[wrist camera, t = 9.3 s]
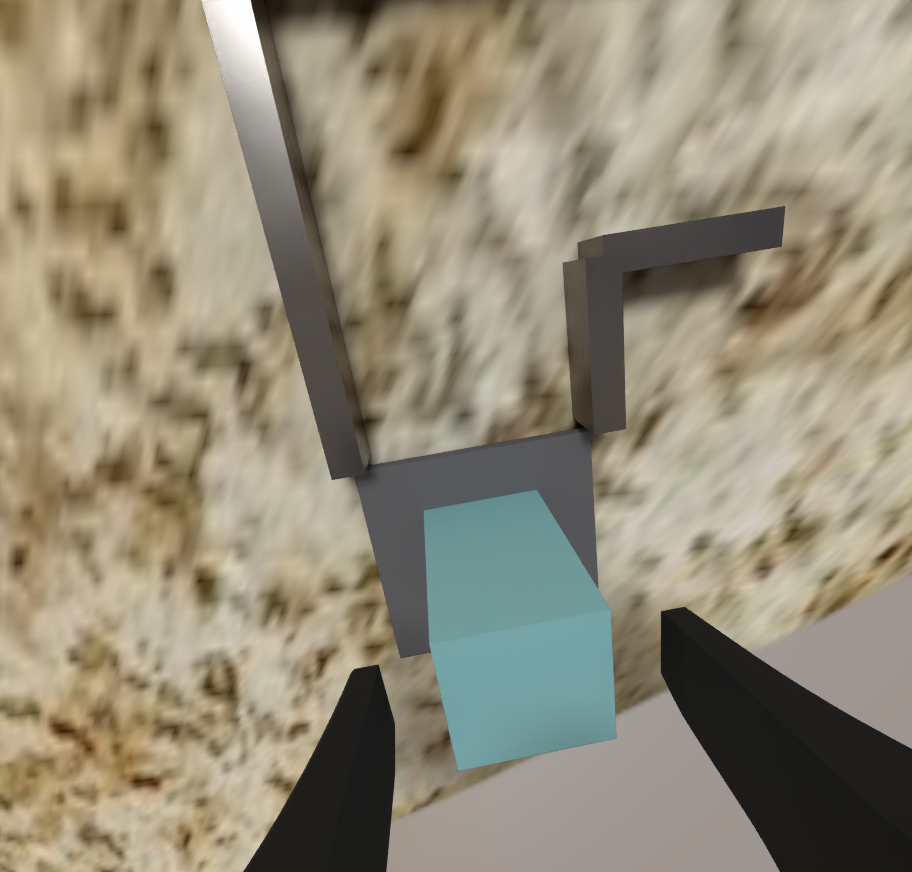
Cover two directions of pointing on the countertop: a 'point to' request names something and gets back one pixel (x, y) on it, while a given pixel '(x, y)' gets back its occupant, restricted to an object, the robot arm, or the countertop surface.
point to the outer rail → (289, 224)
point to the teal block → (515, 632)
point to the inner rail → (601, 297)
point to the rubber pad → (461, 481)
